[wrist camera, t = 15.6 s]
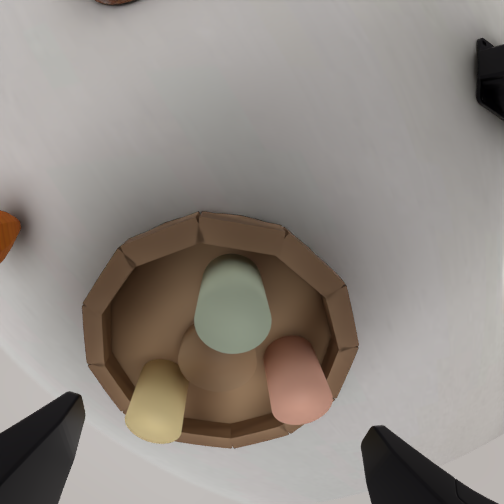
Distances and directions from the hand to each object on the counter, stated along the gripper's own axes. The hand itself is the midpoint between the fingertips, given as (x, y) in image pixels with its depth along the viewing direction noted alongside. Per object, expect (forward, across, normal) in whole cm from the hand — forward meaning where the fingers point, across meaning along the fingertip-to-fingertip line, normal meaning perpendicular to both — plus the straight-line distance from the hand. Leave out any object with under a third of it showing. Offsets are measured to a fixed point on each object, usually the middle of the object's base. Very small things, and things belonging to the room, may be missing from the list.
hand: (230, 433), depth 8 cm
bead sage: (+12, 0, 0) cm, 12 cm away
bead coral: (+12, -5, +5) cm, 14 cm away
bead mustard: (+12, +4, +8) cm, 15 cm away
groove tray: (+12, 0, +5) cm, 13 cm away
